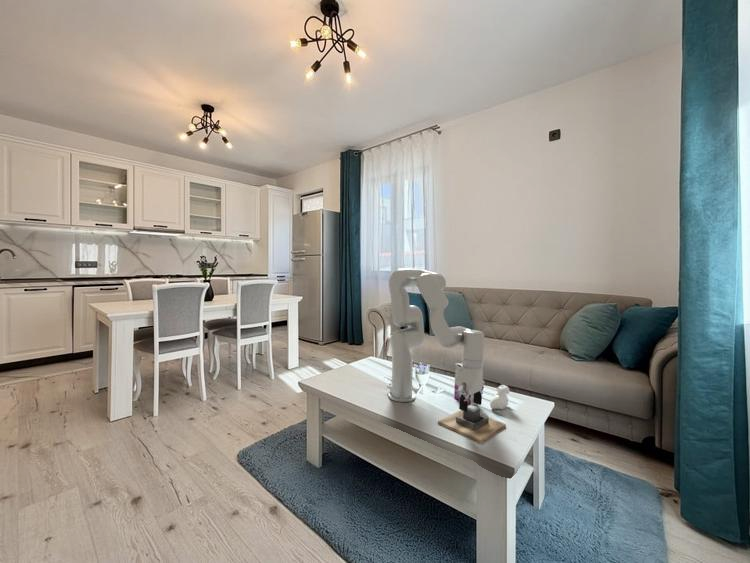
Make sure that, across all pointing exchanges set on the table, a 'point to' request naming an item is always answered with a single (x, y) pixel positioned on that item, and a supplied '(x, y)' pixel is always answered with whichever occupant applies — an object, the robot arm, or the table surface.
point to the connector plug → (472, 414)
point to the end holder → (472, 426)
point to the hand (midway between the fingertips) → (470, 407)
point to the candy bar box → (457, 376)
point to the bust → (500, 398)
